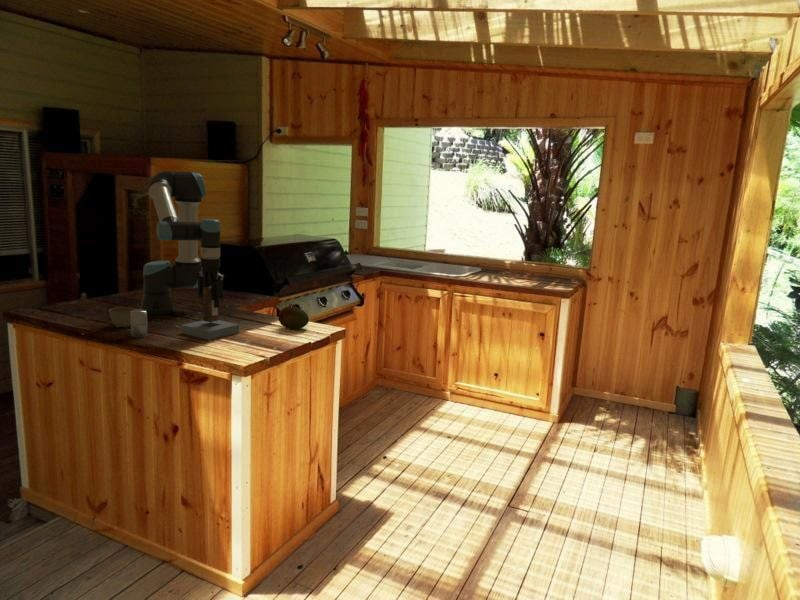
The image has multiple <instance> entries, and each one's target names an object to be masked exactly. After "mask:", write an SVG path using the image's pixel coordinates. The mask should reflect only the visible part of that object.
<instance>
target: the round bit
mask: <svg viewBox="0 0 800 600" xmlns="http://www.w3.org/2000/svg"><path fill="white" fill-rule="evenodd" d="M134 309H135V310H131V311H130V315H131V324H130V337H132V338H144V337H148V334H149V333H148V314H147V310H144V309H140V308H138V309H136V308H134Z"/></svg>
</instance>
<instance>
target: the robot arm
mask: <svg viewBox="0 0 800 600" xmlns="http://www.w3.org/2000/svg"><path fill="white" fill-rule="evenodd" d="M205 184H206V183H205V179H204V177H203V176H202V174H201V173H199V172H194V171H177V170H176V171H175V170H163V171H160V172H158V173H156V174H155V175H153V176H152V178H151V179H150V181H148V184H147V192H148V195H149V198H150V199H152V200H153V205H154V207H155V210H156V214H157V217H158V221H157V223H156V236H157V238H158V240H159V241H166V242H167V241H168V242H169V241H178V242H177V243H178V245H177V246H178V249H177V250H178V252H177V253H178V254H177V255H178V256H177V257H176V258H175V260H174V263H171V261H170V260H155V261H154V260H153V261H150V262H147V263H145V264H144V265H143V270H142V271H143V273H142V277H143V296H142V299H141V303H140V306H139V309H144V310H147V315H168V314H172V313H175V311H176V306H175V304H174V301H173V297H172V294H171V293H172V291H171V290H173V289H177V290H178V289H196V288H197V293H198V294H197V295H198V296H200V297H201V298H202V299H201V300H202V303H201V304H202V305H203V287H208V286H211V288H212V295H213V299H212V316H215V315H218V316H219V307H220V300H221V299H223V298H224V281H225V280H224V279H225V278H226V277H225V275H224V274H221V273H220V270H219V269H220V268H221V258H220V257H221V229H222V228H221V221H220V220H219V219H216V218H203V219H201V220H200V221H199V205H200V204H201V203H202V200H203V199H205V198H206V192H207V191H206V185H205ZM173 198H174V201H173ZM174 202H175V203H176V204H177V205H178V207H177V209H178V210H177V209H176V206H175V204H174ZM177 212H178V213H177ZM199 241H200V257H199V256H198V255H199V254H198V253H199V252H198V251H199V247H198V246H199Z"/></svg>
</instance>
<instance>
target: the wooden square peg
mask: <svg viewBox="0 0 800 600" xmlns="http://www.w3.org/2000/svg"><path fill="white" fill-rule="evenodd" d="M212 299H213V295H212V288H211V285H210V286H208V287H203V304H202V307H203V309H202V310H203V313H202V318H203V319H202V320H203V321H207V322H214V321H218V320H219V319H218V317H219V314H218V315H215V316H212Z"/></svg>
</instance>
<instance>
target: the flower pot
mask: <svg viewBox="0 0 800 600" xmlns="http://www.w3.org/2000/svg"><path fill="white" fill-rule="evenodd" d="M135 309H136V308H134V307H128V306H127V307H125V306H123V307H122V306H121V307H113V308H110V309H108V313H109V317H110V319H111V322H112V323H113V324H114V327H116V328H119V327H124V328H129V327H131V315H130V311H131V310H135Z"/></svg>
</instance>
